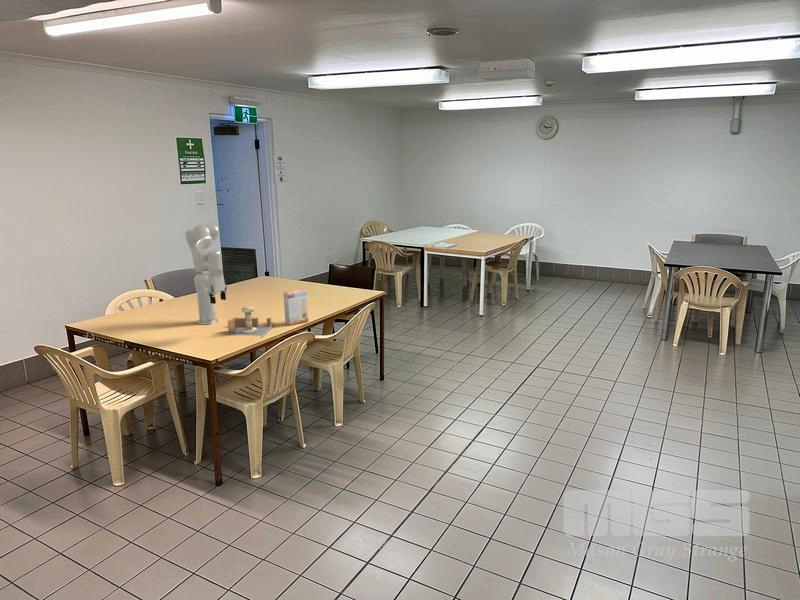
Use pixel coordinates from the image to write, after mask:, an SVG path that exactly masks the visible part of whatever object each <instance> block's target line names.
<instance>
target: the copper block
mask: <svg viewBox="0 0 800 600" xmlns="http://www.w3.org/2000/svg"><path fill="white" fill-rule="evenodd" d="M227 328H228V329H227V331H229V333H235V332H237V331H238V330H237V319H233V318H232V319H229V320H227Z"/></svg>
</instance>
